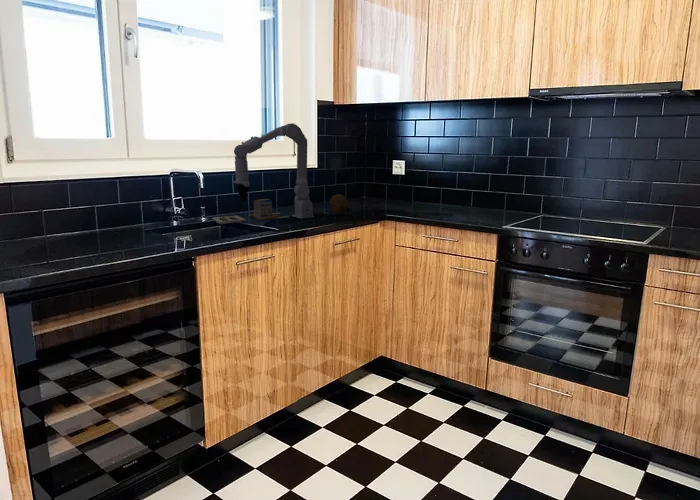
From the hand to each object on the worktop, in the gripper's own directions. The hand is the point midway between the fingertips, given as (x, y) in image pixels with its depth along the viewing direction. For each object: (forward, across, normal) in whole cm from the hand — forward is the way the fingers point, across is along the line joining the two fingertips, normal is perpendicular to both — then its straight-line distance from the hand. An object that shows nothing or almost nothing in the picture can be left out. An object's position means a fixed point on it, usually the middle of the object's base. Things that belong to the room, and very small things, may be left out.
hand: (243, 200), depth 233 cm
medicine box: (+9, 0, +10) cm, 13 cm away
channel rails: (+9, 0, +10) cm, 13 cm away
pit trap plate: (+9, 0, -8) cm, 12 cm away
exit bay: (+9, 0, +18) cm, 20 cm away
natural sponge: (+9, +11, +46) cm, 48 cm away
